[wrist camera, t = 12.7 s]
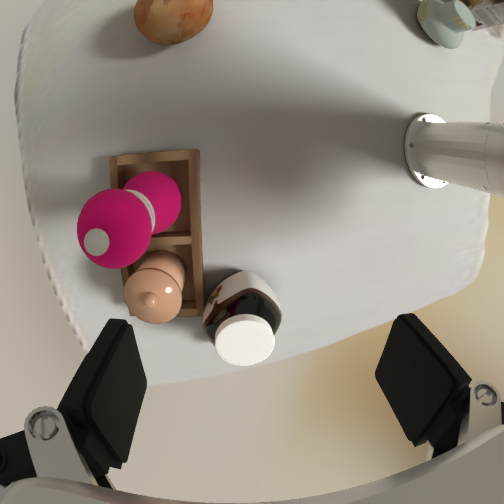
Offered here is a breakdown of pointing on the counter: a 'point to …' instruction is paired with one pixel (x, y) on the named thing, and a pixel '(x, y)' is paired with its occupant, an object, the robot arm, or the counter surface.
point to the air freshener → (445, 21)
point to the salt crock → (156, 287)
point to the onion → (172, 19)
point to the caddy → (186, 225)
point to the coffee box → (486, 12)
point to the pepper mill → (128, 218)
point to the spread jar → (242, 319)
